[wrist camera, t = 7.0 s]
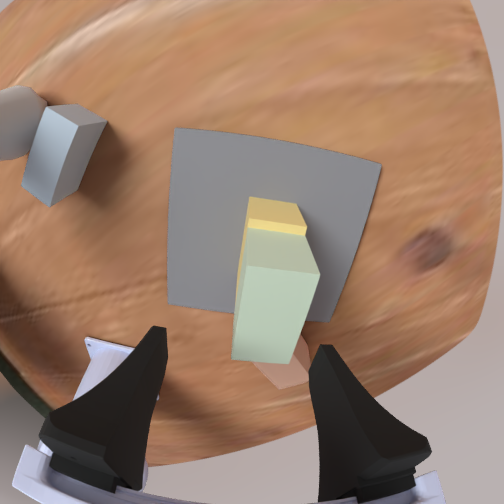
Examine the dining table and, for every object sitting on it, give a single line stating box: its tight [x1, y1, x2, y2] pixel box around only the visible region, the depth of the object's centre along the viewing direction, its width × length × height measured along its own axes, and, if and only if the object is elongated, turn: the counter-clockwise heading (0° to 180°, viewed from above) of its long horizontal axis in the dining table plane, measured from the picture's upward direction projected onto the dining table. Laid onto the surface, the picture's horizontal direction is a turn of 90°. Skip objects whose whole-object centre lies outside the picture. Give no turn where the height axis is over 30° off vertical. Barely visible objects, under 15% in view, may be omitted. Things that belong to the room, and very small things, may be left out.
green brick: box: [231, 227, 320, 364], centre depth 15 cm, size 6×3×4 cm, turn 171°
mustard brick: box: [235, 197, 307, 304], centre depth 18 cm, size 6×3×4 cm, turn 171°
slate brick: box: [21, 104, 107, 207], centre depth 15 cm, size 6×3×4 cm, turn 144°
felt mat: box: [167, 128, 382, 322], centre depth 20 cm, size 14×14×1 cm
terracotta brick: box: [252, 334, 311, 390], centre depth 23 cm, size 6×3×4 cm, turn 28°
